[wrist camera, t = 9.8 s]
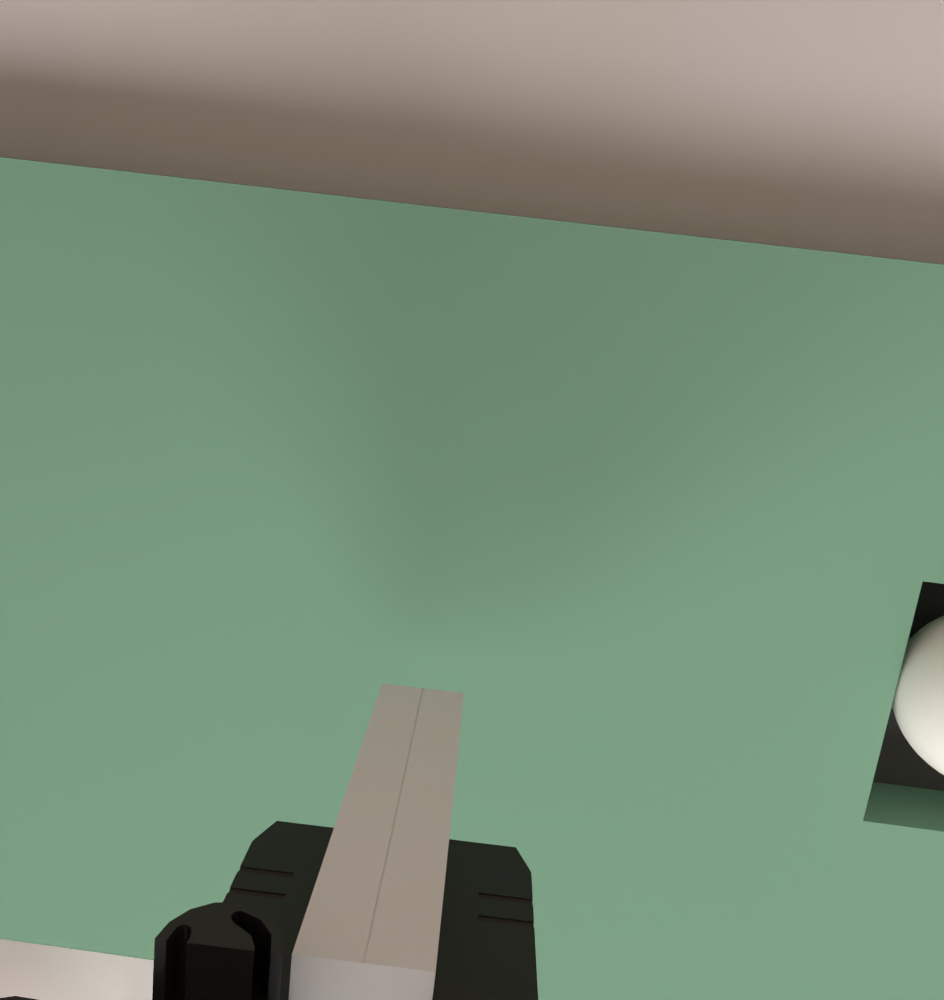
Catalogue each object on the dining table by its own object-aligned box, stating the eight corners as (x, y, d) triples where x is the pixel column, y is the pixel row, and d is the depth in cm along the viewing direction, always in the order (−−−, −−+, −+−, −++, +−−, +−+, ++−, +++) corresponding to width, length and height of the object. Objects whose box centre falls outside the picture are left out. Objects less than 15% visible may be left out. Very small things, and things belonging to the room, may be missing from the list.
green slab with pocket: (-122, 860, 22) (-266, 984, 18) (-160, 149, 18) (-357, 101, 14) (1159, 1036, 21) (1312, 1207, 17) (1416, 329, 17) (1697, 334, 13)
